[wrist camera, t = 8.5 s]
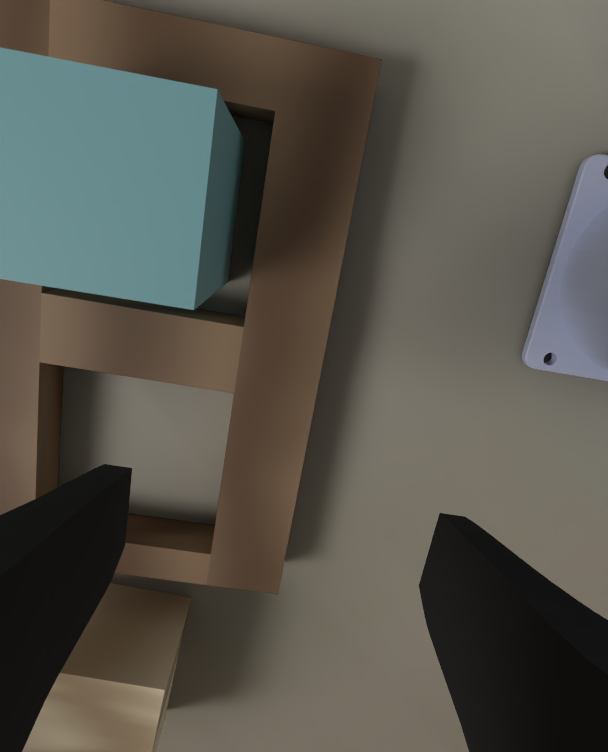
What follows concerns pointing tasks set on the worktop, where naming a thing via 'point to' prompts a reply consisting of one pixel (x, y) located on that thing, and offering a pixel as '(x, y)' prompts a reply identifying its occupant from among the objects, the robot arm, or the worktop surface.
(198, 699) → the worktop surface
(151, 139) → the teal block
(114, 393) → the worktop surface
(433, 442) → the worktop surface
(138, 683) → the maple block
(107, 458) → the worktop surface
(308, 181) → the walnut frame
